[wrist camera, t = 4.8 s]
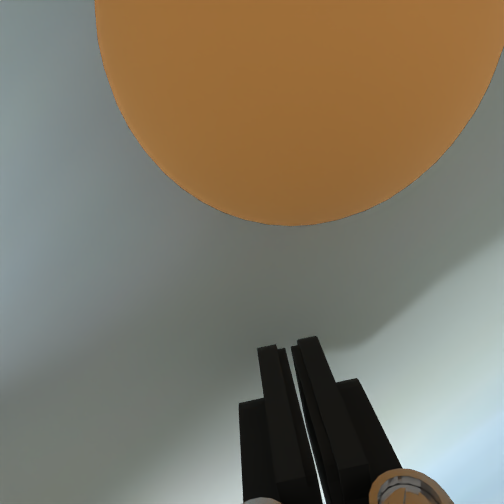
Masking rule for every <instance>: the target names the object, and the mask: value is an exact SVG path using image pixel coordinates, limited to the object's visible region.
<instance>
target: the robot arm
mask: <svg viewBox="0 0 504 504" xmlns="http://www.w3.org/2000/svg"><path fill="white" fill-rule="evenodd" d="M297 343H298V345H296V346H291V351H292V356H293V361H294V366H295V371H296V376H297V382H298V387H299V392H300V397H301V402H302V407H303V412H304V417H305V422H306V427H307V431H308V435H309V439H310V443H311V446H312V450H313V454H314V458H315V462H316V466H317V470H318V473H319V477H320V481H321V485H322V489H323V493H324V497H325V500H326V504H454V503H453V501H452V500H451V499H450V497H449V496H448V495H447V493H446V492H445V491H444V490H443V489H442V488H441V487H440V485H439V484H438V483H437V482H436V481H434V480H433V479H431V478H430V477H428V476H427V475H425V474H423V473H421V472H418V471H415V470H412V469H403V468H402V466H401V464H400V462H399V460H398V458H397V456H396V454H395V452H394V450H393V448H392V446H391V444H390V442H389V440H388V438H387V436H386V434H385V432H384V430H383V428H382V426H381V424H380V422H379V420H378V418H377V416H376V414H375V412H374V410H373V408H372V406H371V404H370V402H369V400H368V398H367V396H366V394H365V392H364V390H363V388H362V385H361V384H360V382H359V380H358V379H357V378H355V379H351V380H346V381H341V382H335V380H334V377H333V375H332V372H331V370H330V367H329V365H328V363H327V360H326V358H325V355H324V353H323V350H322V348H321V345H320V343H319V340H318V338H317V336H313V337H308V338H303V339H298V340H297ZM257 351H258V358H259V365H260V372H261V380H262V387H263V394H264V398H261V399H256V400H251V401H246V402H242V403H239V425H240V445H241V465H242V484H243V504H323V503H322V498H321V493H320V488H319V483H318V478H317V473H316V469H315V465H314V460H313V456H312V453H311V449H310V445H309V441H308V437H307V433H306V429H305V425H304V421H303V417H302V413H301V409H300V405H299V402H298V398H297V394H296V390H295V386H294V382H293V378H292V374H291V370H290V366H289V362H288V358H287V354H286V350H285V348H282V349H277V346H276V344H275V345H270V346H265V347H261V348H257Z"/></svg>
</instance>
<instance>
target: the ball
mask: <svg viewBox="0 0 504 504" xmlns="http://www.w3.org/2000/svg"><path fill="white" fill-rule="evenodd" d="M95 15H96V26H97V37H98V43H99V48H100V52H101V57H102V61H103V66H104V69H105V72H106V75H107V78H108V81H109V84H110V86H111V89H112V92H113V95H114V98H115V100H116V103H117V105H118V107H119V109H120V111H121V113H122V115H123V117H124V119H125V121H126V123H127V125H128V127H129V129H130V130H131V131H132V133H133V134H134V136H135V137H136V139H137V140H138V142H139V143H140V145H141V146H142V148H143V149H144V150H145V152H146V153H147V154H148V155H149V156H150V157H151V159H152V160H153V161H154V162H155V163H156V164H157V165H158V166H159V168H160V169H161V170H162V171H163V172H164V173H165V174H166V175H167V176H168V177H169V178H171V179H172V180H173V181H174V182H175V183H176V184H177V185H179V186H180V187H181V188H182V189H183V190H185V191H186V192H188V193H189V194H191V195H192V196H194V197H195V198H197V199H198V200H200V201H201V202H203V203H205V204H207V205H209V206H211V207H213V208H215V209H217V210H219V211H221V212H223V213H226V214H229V215H232V216H235V217H238V218H241V219H244V220H248V221H253V222H258V223H263V224H268V225H282V226H301V225H315V224H320V223H325V222H330V221H335V220H339V219H342V218H345V217H348V216H351V215H354V214H357V213H360V212H363V211H366V210H368V209H370V208H372V207H374V206H376V205H378V204H380V203H382V202H384V201H386V200H388V199H389V198H391V197H392V196H394V195H395V194H397V193H398V192H400V191H401V190H403V189H404V188H406V187H407V186H409V185H410V184H411V183H412V182H414V181H415V180H416V179H417V178H419V177H420V176H421V175H422V174H423V173H424V172H425V171H427V170H428V169H429V168H430V167H431V166H432V165H434V164H435V163H436V162H437V161H438V159H439V158H440V157H441V156H442V155H443V154H444V153H445V152H446V150H447V149H448V148H449V147H450V146H451V145H452V144H453V142H454V141H455V140H456V138H457V137H458V136H459V134H460V133H461V131H462V130H463V129H464V127H465V126H466V124H467V123H468V121H469V120H470V118H471V117H472V115H473V114H474V113H475V111H476V110H477V108H478V106H479V104H480V102H481V100H482V98H483V96H484V94H485V92H486V90H487V88H488V86H489V84H490V81H491V79H492V76H493V74H494V72H495V69H496V66H497V64H498V61H499V58H500V55H501V53H502V50H503V47H504V0H95Z"/></svg>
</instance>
